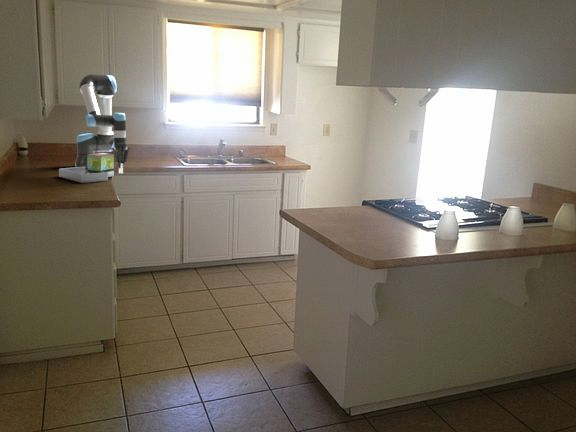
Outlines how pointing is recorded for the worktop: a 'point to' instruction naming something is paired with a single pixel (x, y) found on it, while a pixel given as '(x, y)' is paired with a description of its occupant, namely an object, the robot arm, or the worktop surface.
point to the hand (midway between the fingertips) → (120, 173)
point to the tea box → (101, 163)
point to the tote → (82, 175)
